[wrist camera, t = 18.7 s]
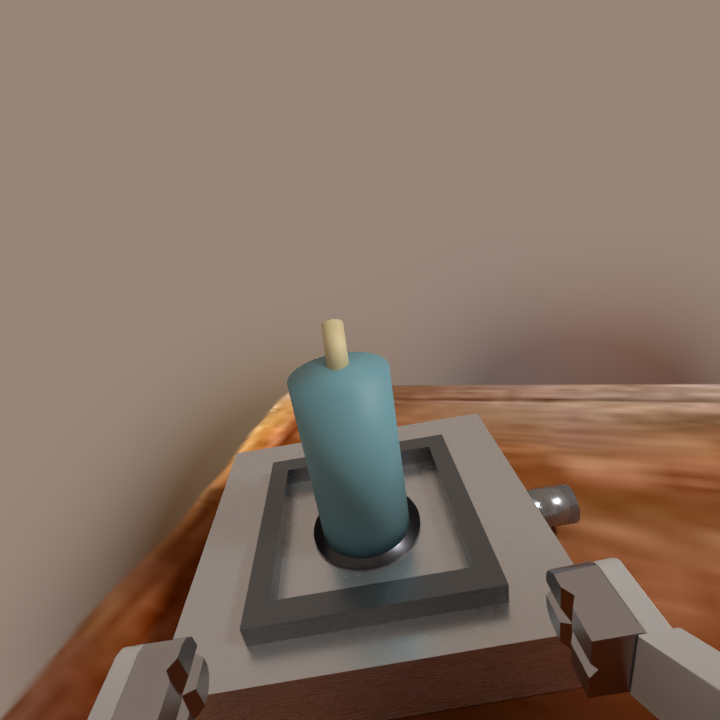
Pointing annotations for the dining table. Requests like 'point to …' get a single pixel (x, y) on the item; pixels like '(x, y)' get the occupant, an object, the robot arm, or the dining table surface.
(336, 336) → the spout can
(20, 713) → the dining table surface
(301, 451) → the ball socket block
